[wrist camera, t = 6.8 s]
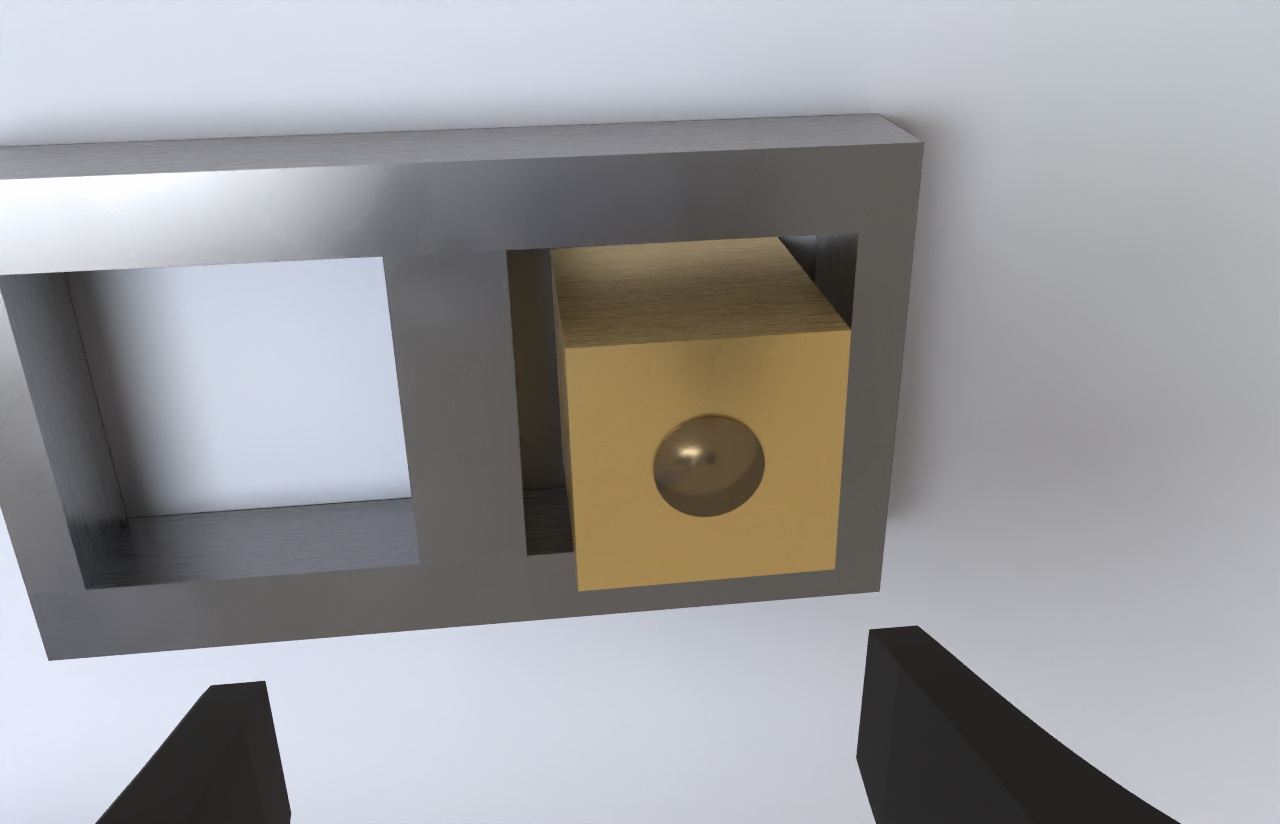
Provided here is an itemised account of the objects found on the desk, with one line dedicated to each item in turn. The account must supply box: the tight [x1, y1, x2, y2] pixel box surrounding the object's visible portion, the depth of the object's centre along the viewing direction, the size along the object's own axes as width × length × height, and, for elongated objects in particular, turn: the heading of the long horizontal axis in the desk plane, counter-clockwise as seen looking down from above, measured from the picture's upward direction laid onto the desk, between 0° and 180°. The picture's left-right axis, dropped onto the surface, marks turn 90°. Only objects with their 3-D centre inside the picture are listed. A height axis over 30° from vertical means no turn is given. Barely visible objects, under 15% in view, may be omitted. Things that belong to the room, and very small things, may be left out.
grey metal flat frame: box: [0, 114, 924, 661], centre depth 20 cm, size 9×16×2 cm, turn 91°
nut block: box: [550, 237, 851, 591], centre depth 20 cm, size 4×4×5 cm
